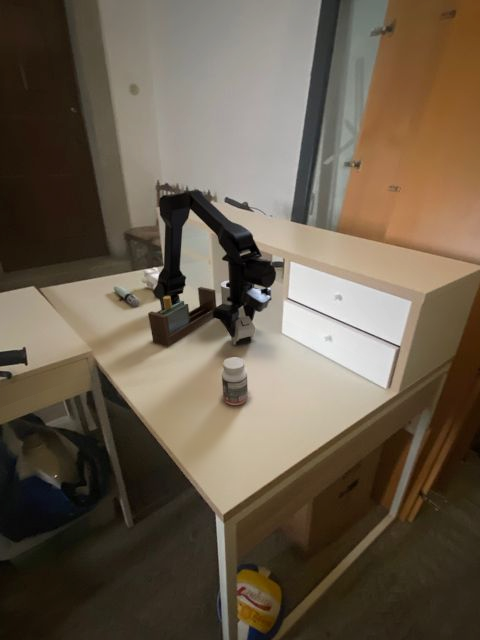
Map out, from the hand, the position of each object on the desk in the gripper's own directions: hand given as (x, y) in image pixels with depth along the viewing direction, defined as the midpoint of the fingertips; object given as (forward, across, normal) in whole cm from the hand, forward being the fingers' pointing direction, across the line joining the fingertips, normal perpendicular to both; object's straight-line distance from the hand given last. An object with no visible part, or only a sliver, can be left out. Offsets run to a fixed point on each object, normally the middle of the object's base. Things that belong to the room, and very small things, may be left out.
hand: (241, 330), depth 103 cm
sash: (+2, -5, +21) cm, 22 cm away
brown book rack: (+4, -1, +20) cm, 21 cm away
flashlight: (+4, +6, +56) cm, 57 cm away
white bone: (+4, +18, +50) cm, 53 cm away
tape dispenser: (+4, 0, 0) cm, 4 cm away
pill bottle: (+4, -23, -13) cm, 27 cm away
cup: (+4, +13, +11) cm, 18 cm away
